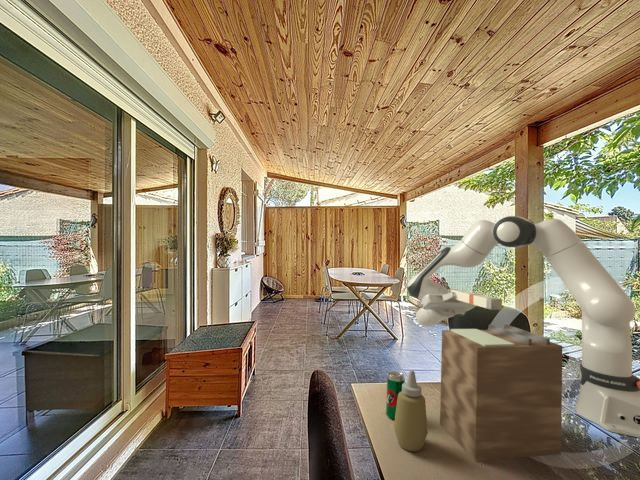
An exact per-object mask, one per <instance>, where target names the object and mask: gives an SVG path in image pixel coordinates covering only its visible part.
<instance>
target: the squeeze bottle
mask: <svg viewBox="0 0 640 480" xmlns="http://www.w3.org/2000/svg"><path fill="white" fill-rule="evenodd" d="M427 419H428V418H427V407H426V398H425V396H424V395H423V394H422V387H421V385H420V384H418V383H417V379H416V372H415V371H414V370H409V372H408V377H407V380H406V381H405V383H403V384H402V391H401V392H399V394H398V398H397V406H396V413H395V420H394V423H393V428H394V432H395V436H396V439H397V443H398V445H399V446H400V447H401V448H402V449H404V450H406V451H409V452H419V451H421V450H422V449H423V446H424V444H425V441H426V439H427V437H428V433H429V432H428V420H427Z"/></svg>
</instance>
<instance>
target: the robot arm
mask: <svg viewBox="0 0 640 480" xmlns="http://www.w3.org/2000/svg"><path fill="white" fill-rule="evenodd" d="M498 245H501V246H503V247H505V248H517V249H518V248H523V247H527V246H530V245H533V246H534V247H536V248H537V249H538V250H539V251H540V253H541V254H542V255H543V257H544V258H545V259H546V261H547V262H548V264H549V265H550V266H551V268H552V269H553V271H554V272H555V273H556V274H557V275H558V276H559V278H560V280H561V281H562V283H563V284H564V286H565V287H566V289H568V291H569V293H570V295H572V297H573V298H574V299H575V301H576V303H577V304H578V306H579V307H580V309H581V363H580V365H579V373H578V375H579V379H578V380H579V383H580V387H579V391H578V392H579V393H578V398H577V400H576V403H575V405H574V411H575V412H576V413H577V414H578V415H580V416H581V417H582V418H584V419H586V420H589V421H590V422H593V423H595V424H597V425H598V426H600V427H601V428H603V429H605V430H607V431H608V432H612V433H616V434H621V435H623V436H631V437H634V438H639V439H640V378H639V377H638V376H637V375H634V374H633V345H632V336H631V324H630V323H631V322H632V321H633V319H635V315H636V307H635V304H634V302H633V300H632V299H631V298H630V296H629V295H628V293H626V292H625V290H624V289H623V288H622V287H621V285H620V284H619V283H618V282H617V281H616V280H615V279H614V277H613V276H612V275H611V274H610V272H608V271H607V269H606V268H605V266H604V265H602V263H601V262H600V261H599V260H598V259H597V257H596V256H595V255H594V253H592V251H591V250H590V249H589V248H588V246H587V245H586V243H585V242H584V241H583V240H582V239H581V238H580V236H578V234H577V233H576V232H575V231H574V230H573V229H572V228H571V227H570V226H568V225H567V224H566V223H565V222H564V221H562V220H561V219H559V218H549V219H545V220H542V221H540V222H538V223H535V222H533V221H532V220H531V219H529V218H526V217H522V216H518V215H516V216H515V215H510V216H505V217H502V218H501V219H499V220H498V221H497V222H496V223H495V222H493V221H490V220H487V219H482V220H478V221H476V222H475V224H473V225H472V226H471V227H470V228H469V229H468V231H466V233H465V234H464V235H463V236H462V237H461V239H460V240H459V241H458V242H457V243H456V244H454V245H452V246H446V247H444V248H443V249H441V250H440V251H439V252H437V254H435V255H434V256H433V257H432V259H431V260H429V261H428V263H427V264H426V265H424V267H422V268H421V269H420V270H419V271H418V272H417V273H416V274H414V275H413V276H412V277H411V278H410V279H409V281H408V283H407V286H406V289H407V291H408V295H409V296H411V297H413V298H416V299H417V300H420V301H421V302H419V303H418V304H417V307H419V309H418V310H417V311H416V314H415V319H416V320H417V322H418V323H419V324H420V325H421V326H422V327H426V328H429V327H433V326H436V325H437V324H439V323H440V322H441V321H444V320H446V319H450V318H452V317H458V316H459V317H460V316H464V315H465V314H466V313H467V312H468V311H470V310H473V309H474V308H475V307H477V306H476V305H473V304H469V303H466V302H462V301H459V300H455V299H452V298H455V297H456V293H455V292H450V293H448V289H449V288H446V287H445V286H443V285H442V284H439V283H437V282H435V281H434V280H432V279H430V278H431V277H432V276H433V275H434V274H435V273H436V272H437V271H438V270H439V269H440V268H441V267H444V266H454V267H461V268H473V267H474V268H475V267H477V266H479V265H481V264H482V263H483V261H485V260H486V258H487V257H488V256H489V254H490V253H491V251H492V250H493V249H494V248H495V247H496V246H498Z"/></svg>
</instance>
